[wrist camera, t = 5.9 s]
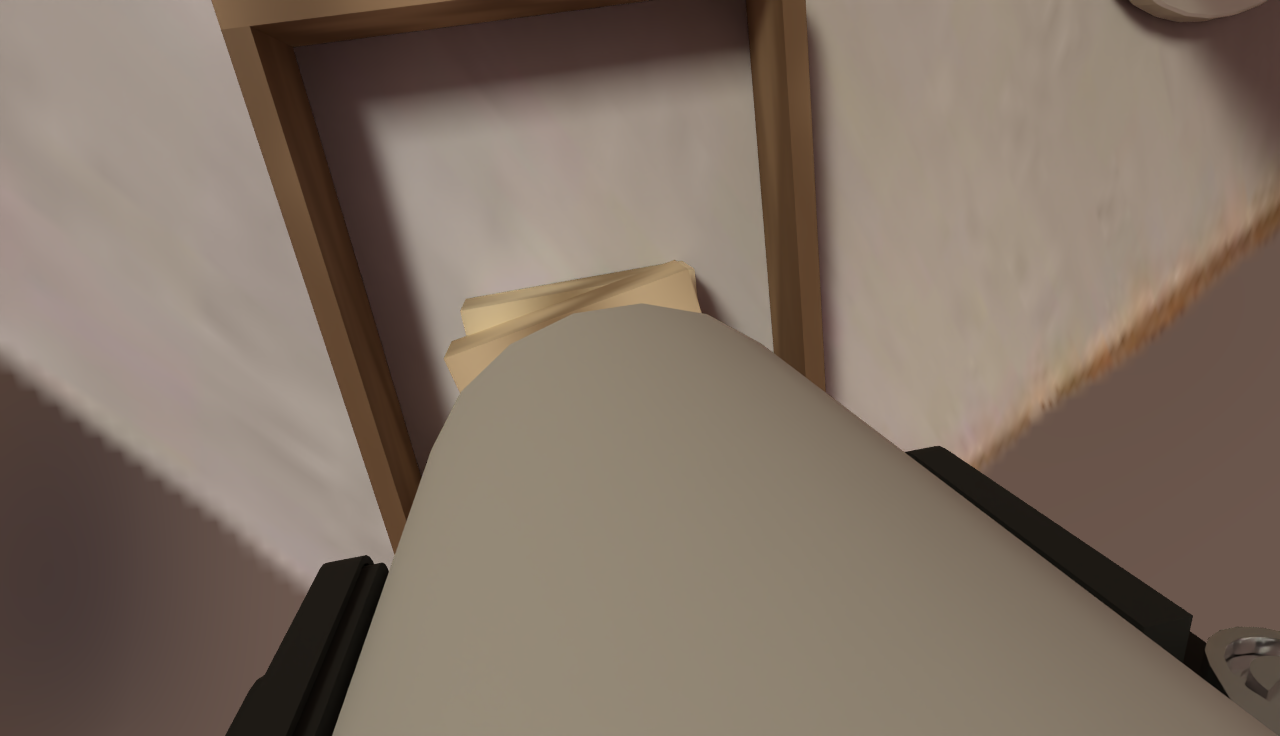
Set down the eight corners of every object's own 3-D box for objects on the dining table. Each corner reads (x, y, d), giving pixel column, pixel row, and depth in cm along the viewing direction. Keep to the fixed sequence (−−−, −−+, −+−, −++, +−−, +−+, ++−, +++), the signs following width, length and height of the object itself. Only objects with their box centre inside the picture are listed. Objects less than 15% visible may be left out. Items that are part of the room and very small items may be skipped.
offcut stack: (693, 247, 26) (723, 262, 22) (715, 438, 29) (746, 483, 25) (448, 290, 25) (431, 314, 21) (498, 484, 28) (492, 539, 24)
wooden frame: (763, -39, 23) (801, -73, 20) (797, 441, 30) (829, 475, 26) (260, 24, 21) (210, -2, 18) (415, 522, 28) (399, 570, 25)
